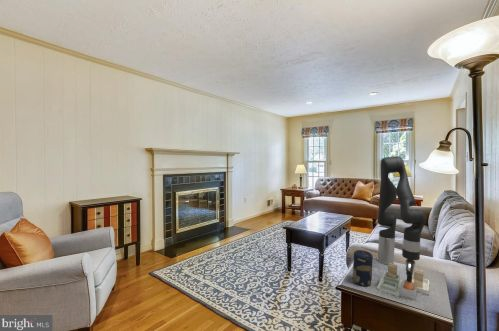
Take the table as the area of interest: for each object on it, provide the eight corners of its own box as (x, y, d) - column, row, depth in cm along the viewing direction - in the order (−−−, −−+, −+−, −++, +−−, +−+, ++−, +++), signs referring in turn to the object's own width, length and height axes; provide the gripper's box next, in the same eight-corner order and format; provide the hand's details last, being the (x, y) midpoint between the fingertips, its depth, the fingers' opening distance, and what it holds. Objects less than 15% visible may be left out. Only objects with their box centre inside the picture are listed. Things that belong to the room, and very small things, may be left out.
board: (383, 275, 144) (383, 270, 144) (403, 281, 138) (403, 276, 138) (376, 289, 129) (377, 284, 129) (398, 296, 123) (399, 291, 123)
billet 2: (413, 282, 136) (414, 268, 135) (422, 285, 133) (423, 271, 133) (413, 286, 133) (414, 271, 132) (422, 288, 130) (423, 274, 130)
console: (401, 288, 131) (401, 281, 130) (416, 293, 126) (417, 286, 126) (399, 294, 125) (399, 287, 125) (415, 300, 121) (416, 292, 120)
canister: (372, 281, 137) (374, 250, 136) (369, 289, 130) (371, 256, 129) (354, 276, 143) (355, 246, 142) (350, 283, 135) (352, 251, 134)
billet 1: (388, 276, 141) (389, 262, 140) (396, 278, 139) (397, 265, 138) (387, 279, 138) (388, 265, 137) (395, 281, 135) (396, 267, 135)
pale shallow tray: (408, 278, 141) (408, 274, 141) (429, 284, 135) (429, 280, 135) (406, 289, 131) (406, 284, 130) (428, 295, 125) (428, 291, 125)
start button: (404, 290, 128) (404, 279, 128) (413, 293, 126) (413, 282, 126) (403, 294, 125) (403, 282, 125) (412, 297, 123) (413, 285, 122)
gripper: (403, 242, 132) (402, 273, 133) (401, 250, 121) (399, 284, 122) (420, 246, 127) (418, 278, 128) (419, 254, 117) (417, 289, 118)
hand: (409, 281), depth 125 cm, fingers closed
